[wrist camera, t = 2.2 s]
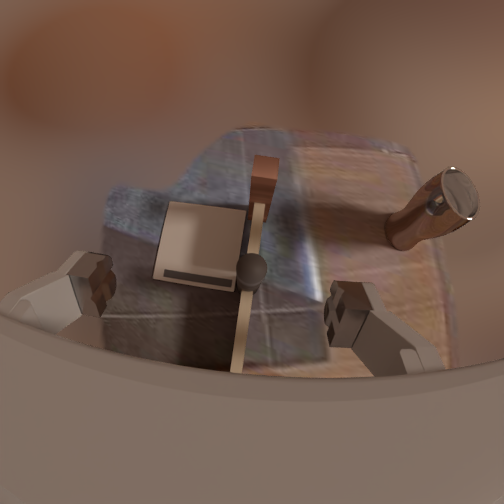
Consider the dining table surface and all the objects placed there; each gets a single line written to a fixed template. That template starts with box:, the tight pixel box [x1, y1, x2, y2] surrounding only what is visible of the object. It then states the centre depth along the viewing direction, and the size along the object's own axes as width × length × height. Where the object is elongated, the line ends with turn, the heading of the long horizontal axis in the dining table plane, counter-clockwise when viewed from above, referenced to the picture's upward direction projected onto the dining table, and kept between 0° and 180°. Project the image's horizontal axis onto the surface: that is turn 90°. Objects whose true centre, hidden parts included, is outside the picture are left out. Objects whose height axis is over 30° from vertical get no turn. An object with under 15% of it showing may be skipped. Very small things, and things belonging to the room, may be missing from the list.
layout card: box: [153, 201, 246, 292], centre depth 37 cm, size 11×11×1 cm
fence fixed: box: [230, 253, 267, 373], centre depth 28 cm, size 15×3×13 cm, turn 172°
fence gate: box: [247, 155, 280, 254], centre depth 31 cm, size 9×2×12 cm, turn 172°
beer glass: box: [385, 167, 480, 251], centre depth 32 cm, size 7×7×15 cm
